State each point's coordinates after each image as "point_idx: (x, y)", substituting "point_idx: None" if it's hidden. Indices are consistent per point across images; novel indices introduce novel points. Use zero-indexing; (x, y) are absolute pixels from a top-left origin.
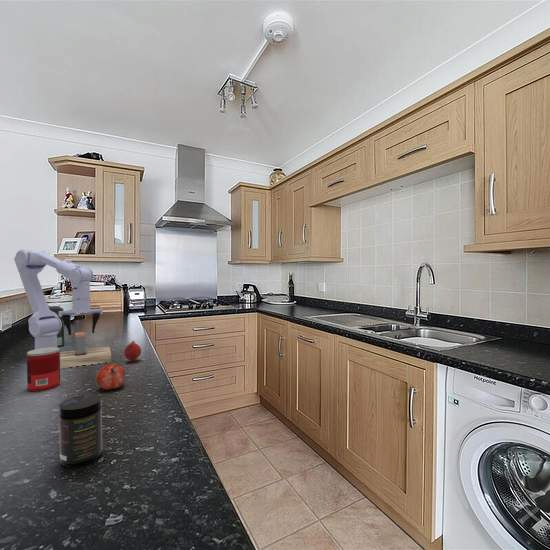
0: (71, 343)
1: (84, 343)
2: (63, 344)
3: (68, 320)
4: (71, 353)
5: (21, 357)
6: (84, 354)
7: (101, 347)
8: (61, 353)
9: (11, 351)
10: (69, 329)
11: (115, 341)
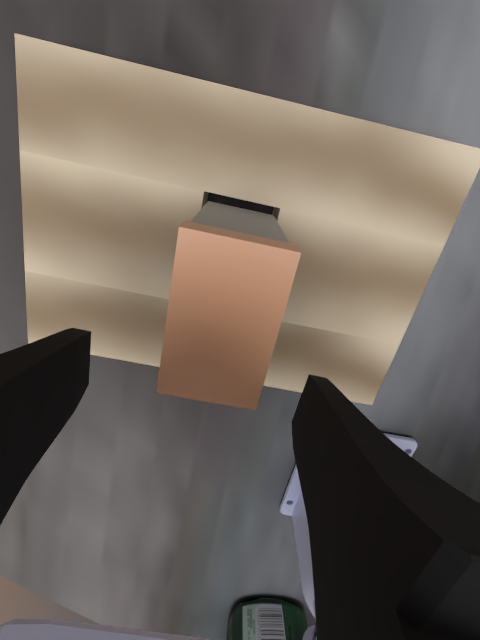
0: (198, 620)
1: (204, 211)
2: (235, 609)
3: (433, 509)
4: None
5: None
6: None
7: None
8: (325, 360)
9: None
10: (343, 407)
11: (9, 553)
